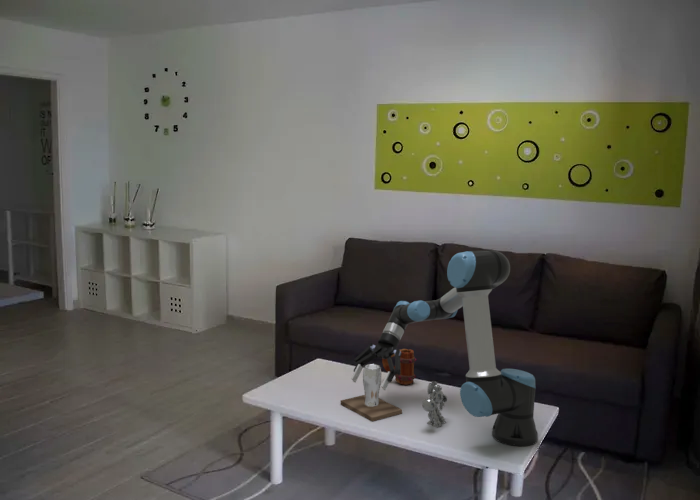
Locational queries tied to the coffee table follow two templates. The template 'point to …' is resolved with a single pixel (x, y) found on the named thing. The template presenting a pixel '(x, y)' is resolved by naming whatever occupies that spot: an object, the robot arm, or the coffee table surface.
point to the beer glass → (371, 385)
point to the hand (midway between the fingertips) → (367, 384)
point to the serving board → (371, 413)
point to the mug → (403, 367)
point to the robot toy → (434, 404)
